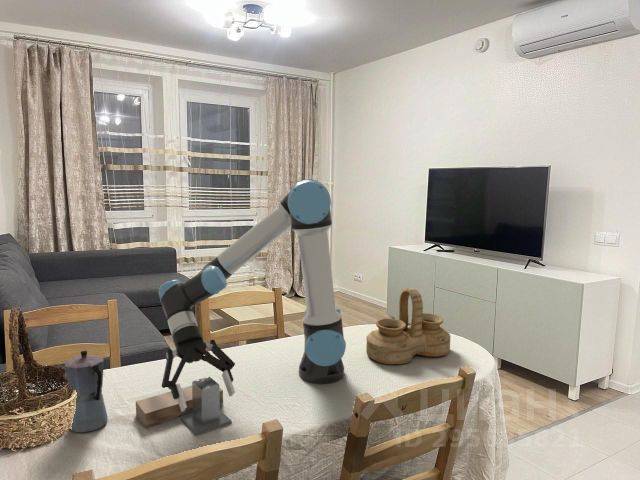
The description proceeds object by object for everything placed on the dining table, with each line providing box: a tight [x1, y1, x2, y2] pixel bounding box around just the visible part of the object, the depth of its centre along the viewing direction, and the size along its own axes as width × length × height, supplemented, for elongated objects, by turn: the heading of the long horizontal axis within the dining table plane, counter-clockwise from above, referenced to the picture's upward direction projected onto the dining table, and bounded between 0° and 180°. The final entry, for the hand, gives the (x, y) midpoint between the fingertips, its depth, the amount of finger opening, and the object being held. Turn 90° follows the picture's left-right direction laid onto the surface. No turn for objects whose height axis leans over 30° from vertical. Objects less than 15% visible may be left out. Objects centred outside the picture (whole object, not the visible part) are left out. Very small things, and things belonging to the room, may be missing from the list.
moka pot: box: [64, 350, 109, 433], centre depth 121 cm, size 10×15×20 cm, turn 54°
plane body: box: [135, 385, 224, 429], centre depth 131 cm, size 22×8×4 cm, turn 128°
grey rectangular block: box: [191, 376, 221, 426], centre depth 124 cm, size 6×5×10 cm
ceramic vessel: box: [365, 287, 451, 365], centre depth 172 cm, size 34×18×25 cm, turn 117°
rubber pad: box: [180, 409, 233, 436], centre depth 125 cm, size 10×10×1 cm
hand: (209, 401), depth 123 cm, fingers open, 13 cm apart
